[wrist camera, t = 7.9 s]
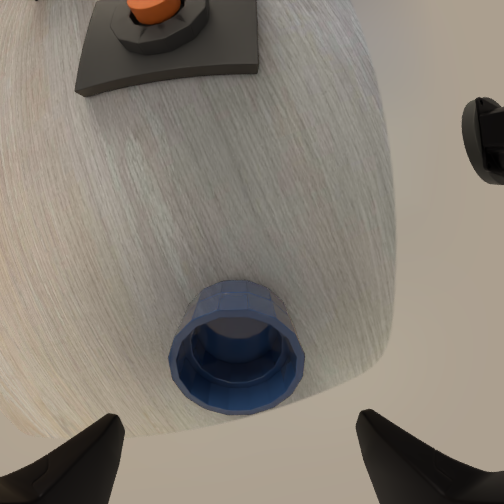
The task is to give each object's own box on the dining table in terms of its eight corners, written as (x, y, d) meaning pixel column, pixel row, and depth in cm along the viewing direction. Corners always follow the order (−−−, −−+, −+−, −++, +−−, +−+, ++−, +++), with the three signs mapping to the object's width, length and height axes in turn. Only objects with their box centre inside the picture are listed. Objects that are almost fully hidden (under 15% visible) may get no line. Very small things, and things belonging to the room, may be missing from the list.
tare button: (182, -9, 9) (177, -26, 8) (178, 20, 10) (172, 3, 8) (139, -1, 9) (131, -16, 8) (133, 29, 10) (122, 14, 8)
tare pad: (254, -14, 12) (256, -40, 9) (257, 74, 13) (261, 50, 10) (103, 9, 11) (87, -10, 8) (84, 97, 13) (60, 84, 10)
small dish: (290, 275, 16) (308, 305, 11) (287, 366, 17) (299, 411, 13) (180, 278, 16) (159, 309, 11) (191, 368, 17) (180, 413, 13)
